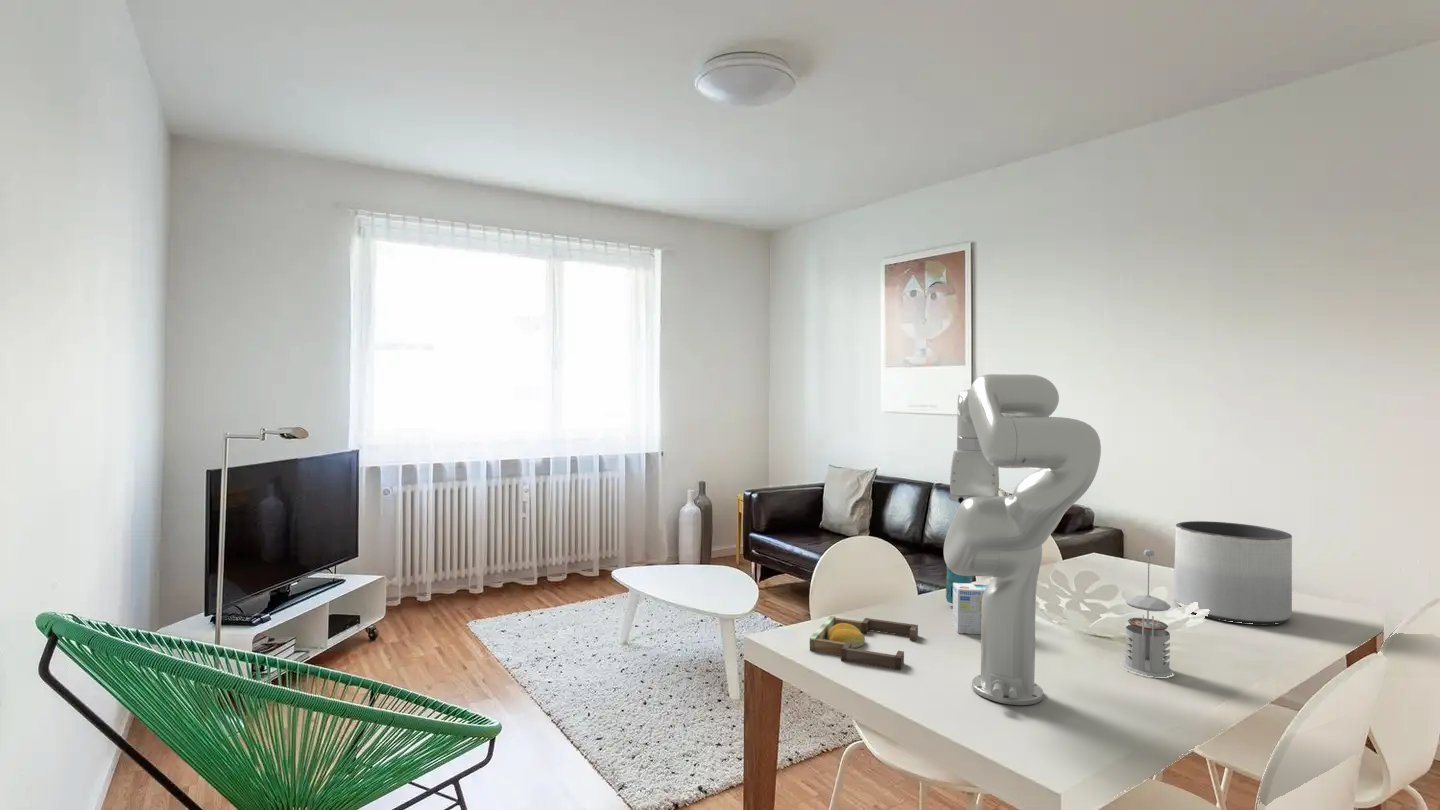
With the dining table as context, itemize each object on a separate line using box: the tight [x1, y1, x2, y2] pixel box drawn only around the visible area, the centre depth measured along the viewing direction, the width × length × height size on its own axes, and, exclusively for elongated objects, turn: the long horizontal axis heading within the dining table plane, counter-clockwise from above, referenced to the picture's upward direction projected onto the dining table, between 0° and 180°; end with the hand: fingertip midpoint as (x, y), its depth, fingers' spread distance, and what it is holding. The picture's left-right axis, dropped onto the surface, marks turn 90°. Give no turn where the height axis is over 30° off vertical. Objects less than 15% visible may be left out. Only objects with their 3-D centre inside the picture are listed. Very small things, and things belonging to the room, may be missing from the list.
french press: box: [1120, 549, 1174, 677], centre depth 147 cm, size 10×12×25 cm
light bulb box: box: [952, 582, 989, 635], centre depth 172 cm, size 11×7×11 cm, turn 84°
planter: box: [1173, 520, 1293, 625], centre depth 189 cm, size 25×25×22 cm
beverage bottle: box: [945, 565, 973, 605], centre depth 191 cm, size 6×7×20 cm
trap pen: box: [809, 615, 919, 671], centre depth 161 cm, size 23×20×3 cm
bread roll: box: [827, 623, 866, 649], centre depth 162 cm, size 8×9×4 cm
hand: (973, 527), depth 159 cm, fingers closed
